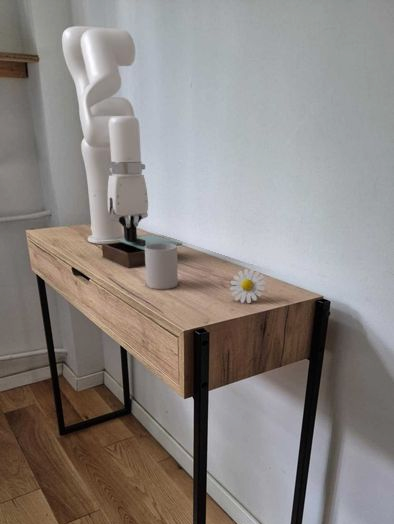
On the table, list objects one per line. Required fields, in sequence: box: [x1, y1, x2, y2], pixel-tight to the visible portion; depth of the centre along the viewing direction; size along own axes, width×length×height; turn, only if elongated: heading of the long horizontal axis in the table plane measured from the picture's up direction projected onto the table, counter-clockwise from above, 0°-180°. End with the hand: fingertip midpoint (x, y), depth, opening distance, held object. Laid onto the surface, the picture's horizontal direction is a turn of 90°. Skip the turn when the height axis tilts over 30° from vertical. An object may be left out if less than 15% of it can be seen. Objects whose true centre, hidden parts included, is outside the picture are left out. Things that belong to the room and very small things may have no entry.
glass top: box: [119, 234, 183, 250], centre depth 135 cm, size 15×12×2 cm
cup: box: [145, 243, 179, 290], centre depth 111 cm, size 7×10×9 cm
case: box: [101, 242, 146, 269], centre depth 133 cm, size 15×12×4 cm
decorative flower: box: [229, 268, 267, 304], centre depth 105 cm, size 8×6×15 cm
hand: (130, 241), depth 131 cm, fingers closed
